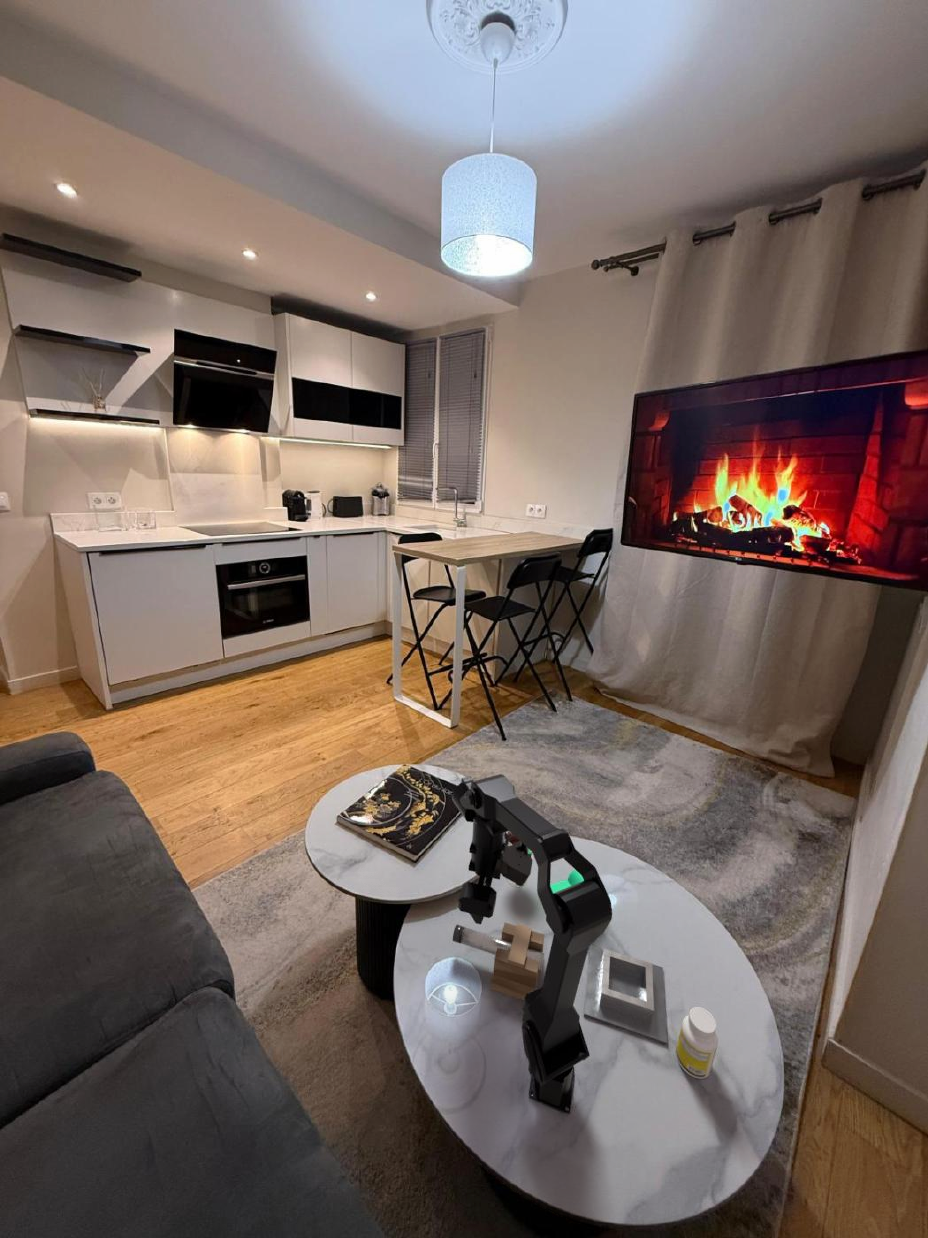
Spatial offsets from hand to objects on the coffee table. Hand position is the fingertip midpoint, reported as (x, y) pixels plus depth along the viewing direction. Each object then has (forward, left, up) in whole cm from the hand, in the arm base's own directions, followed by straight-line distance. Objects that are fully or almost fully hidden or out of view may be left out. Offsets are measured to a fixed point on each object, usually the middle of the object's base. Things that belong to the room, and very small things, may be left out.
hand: (483, 903), depth 96 cm
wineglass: (+20, -3, -12) cm, 24 cm away
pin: (-2, -4, -9) cm, 10 cm away
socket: (+1, -28, -12) cm, 31 cm away
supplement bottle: (-7, -39, -13) cm, 42 cm away
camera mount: (+18, -16, -13) cm, 27 cm away
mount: (-2, -8, -12) cm, 15 cm away
